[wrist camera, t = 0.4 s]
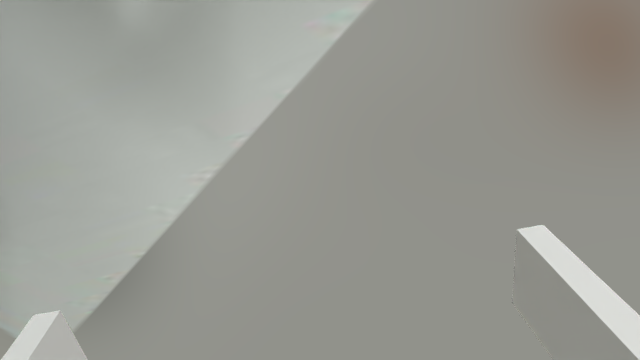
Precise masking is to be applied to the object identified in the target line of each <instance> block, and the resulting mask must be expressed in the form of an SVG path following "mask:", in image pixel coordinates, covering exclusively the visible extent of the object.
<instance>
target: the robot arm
mask: <svg viewBox="0 0 640 360" xmlns="http://www.w3.org/2000/svg"><path fill="white" fill-rule="evenodd" d="M512 303H513V305H514V306H515V308H516V309H517V310H518V312H519V313H520V315H521V316H522V317H523V318H524V320H525V322H526V323H527V324H528V326H529V327H530V329H531V330H532V331H533V333H534V334H535V336H536V337H537V338H538V340H539V341H540V342H541V344H542V345H543V347H544V348H545V349H546V351H547V352H548V354H549V355H550V357H551V358H552V359H553V360H640V316H639V315H638V314H637V313H636V312H635V311H634V310H633V309H632V308H631V307H630V306H629V305H628V304H626V303H625V302H624V301H623V300H622V299H621V298H620V297H619V296H618V295H617V294H616V293H615V292H614V291H613V290H612V289H611V288H609V287H608V286H607V285H606V284H605V283H604V282H603V281H602V280H601V279H600V278H599V277H598V276H597V275H596V274H595V273H593V272H592V271H591V270H590V269H589V268H588V267H587V266H586V265H585V264H584V263H583V262H582V261H581V260H580V259H579V258H578V257H577V256H576V255H574V253H572V252H571V251H570V250H569V249H568V248H567V247H566V246H565V245H564V244H563V243H562V242H561V241H560V240H559V239H558V238H556V237H555V236H554V235H553V234H552V233H551V232H550V231H549V230H548V229H547V228H546V227H545V226H544V225H539V226H533V227H528V228H522V229H517V234H516V250H515V266H514V283H513V299H512ZM1 360H88V359H87V358H86V356H85V354H84V352H83V350H82V349H81V347H80V345H79V343H78V341H77V340H76V338H75V336H74V334H73V332H72V330H71V329H70V327H69V325H68V323H67V321H66V320H65V318H64V316H63V314H62V312H61V311H60V310H59V311H53V312H48V313H42V314H37V315H33V316H32V318H31V319H30V320H29V322H28V323H27V325H26V326H25V327H24V329H23V330H22V331H21V333H20V334H19V336H18V337H17V338H16V340H15V341H14V343H13V344H12V345H11V347H10V348H9V349H8V351H7V352H6V353H5V355H4V356H3V358H2V359H1Z"/></svg>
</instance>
